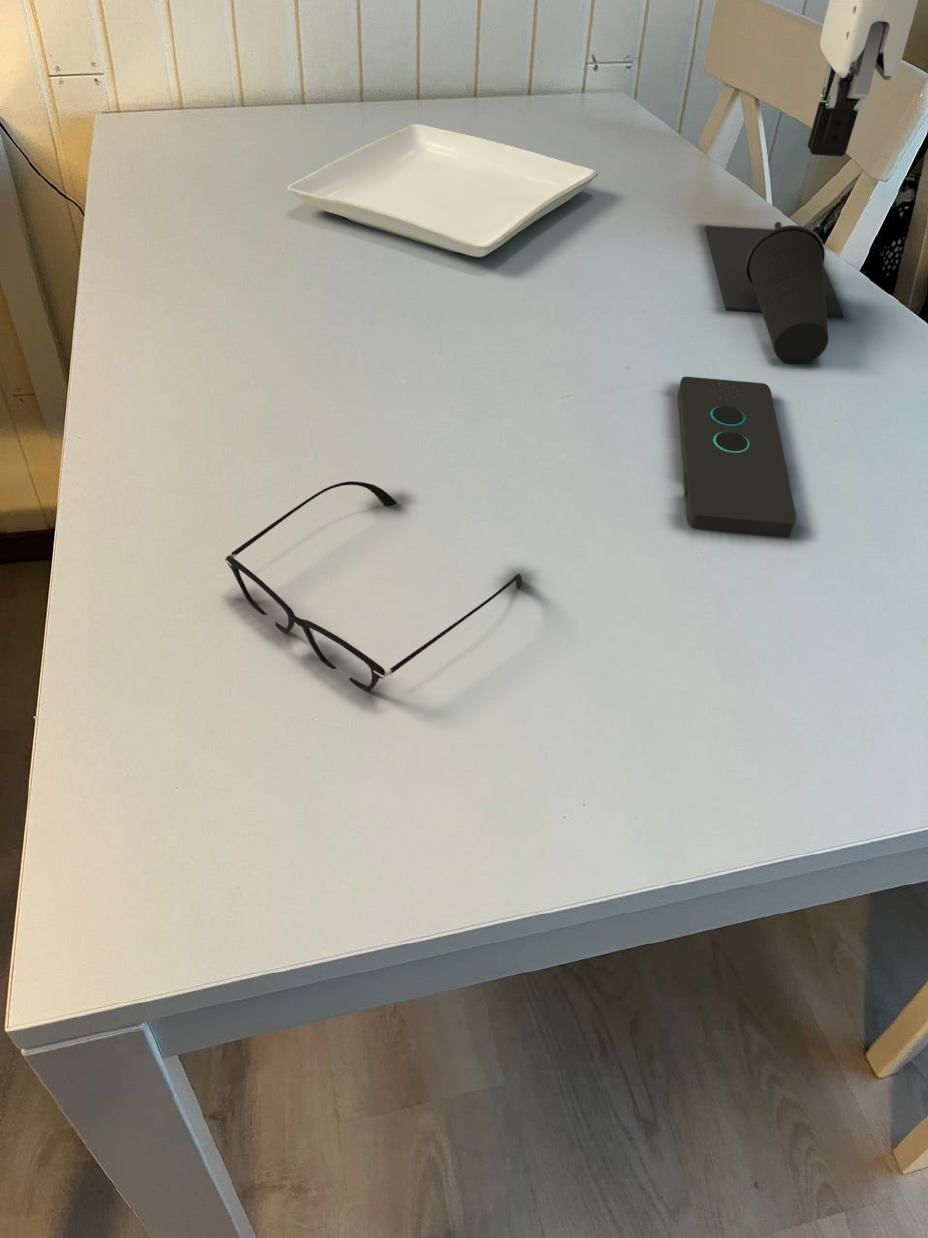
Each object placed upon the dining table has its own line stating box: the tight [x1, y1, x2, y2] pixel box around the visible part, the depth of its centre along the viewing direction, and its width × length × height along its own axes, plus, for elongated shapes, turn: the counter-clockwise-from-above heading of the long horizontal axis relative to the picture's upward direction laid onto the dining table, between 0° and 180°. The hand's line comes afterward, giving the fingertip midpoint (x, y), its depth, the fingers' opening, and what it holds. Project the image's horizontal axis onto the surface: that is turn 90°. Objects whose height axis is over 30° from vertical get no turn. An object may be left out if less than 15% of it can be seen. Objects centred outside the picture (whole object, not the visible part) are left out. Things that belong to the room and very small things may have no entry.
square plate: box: [286, 123, 599, 258], centre depth 114 cm, size 27×27×4 cm
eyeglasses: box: [224, 480, 523, 692], centre depth 66 cm, size 16×16×4 cm
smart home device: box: [677, 376, 797, 539], centre depth 80 cm, size 8×2×20 cm
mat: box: [704, 225, 845, 319], centre depth 105 cm, size 20×12×1 cm, turn 176°
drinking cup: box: [746, 221, 829, 365], centre depth 95 cm, size 8×8×20 cm
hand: (825, 151), depth 88 cm, fingers closed
